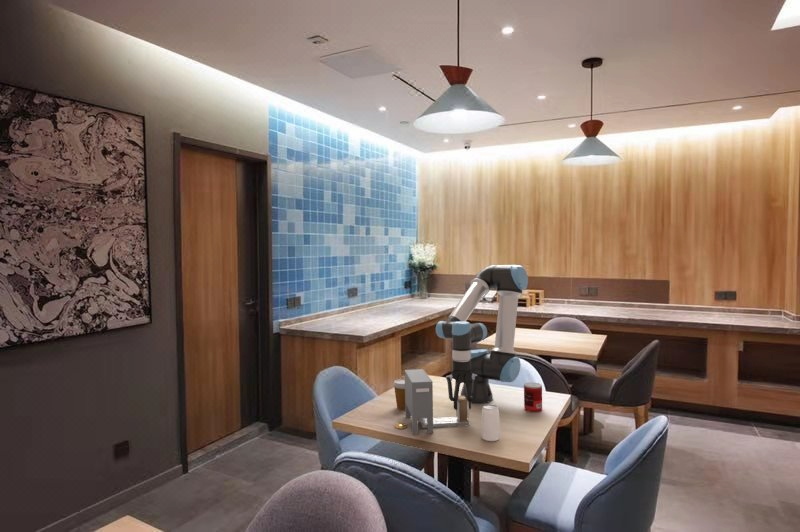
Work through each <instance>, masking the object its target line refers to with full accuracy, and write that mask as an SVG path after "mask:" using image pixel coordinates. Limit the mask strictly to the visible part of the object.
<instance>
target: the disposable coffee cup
mask: <svg viewBox="0 0 800 532" xmlns="http://www.w3.org/2000/svg"><path fill="white" fill-rule="evenodd" d="M392 385H393V387H394V395H395V401H396V408H397V410H401V411H402V410H403V411H405V378H400V379H395V380H394V382H393V383H392Z"/></svg>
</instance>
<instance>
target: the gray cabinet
mask: <svg viewBox="0 0 800 532" xmlns="http://www.w3.org/2000/svg"><path fill="white" fill-rule="evenodd" d="M404 379H405V410H404V412H405V413H404V415H405V416H406V417H405V418H406V419H411V433H412V435H419V427H418V426H419V424H418V423H419V419H425V418H427V428H426V432H427V434H433V433H434V428H433V418H434V395H433V389H434V388H433V387H434V386H433V380H432V379H431V378H430V377H429V375H428V374H427V372H426V371H425V369H423V368H422V369H420V368H418V369H417V368H416V369H405V370H404Z"/></svg>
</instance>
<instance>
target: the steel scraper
mask: <svg viewBox="0 0 800 532" xmlns="http://www.w3.org/2000/svg"><path fill="white" fill-rule="evenodd" d="M458 401H459V413H460V418H457V417H456V416H448V417H446V416H445V417H433V427H434V428H449V427H448V426H451V427H465V426H466V425H468V426H470V421H469V420H468V418H467V398H466V397H465V396H461V395H458ZM419 423H420V425H422V426H421V428H422V429H427V418H419ZM466 427H467V426H466Z"/></svg>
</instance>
